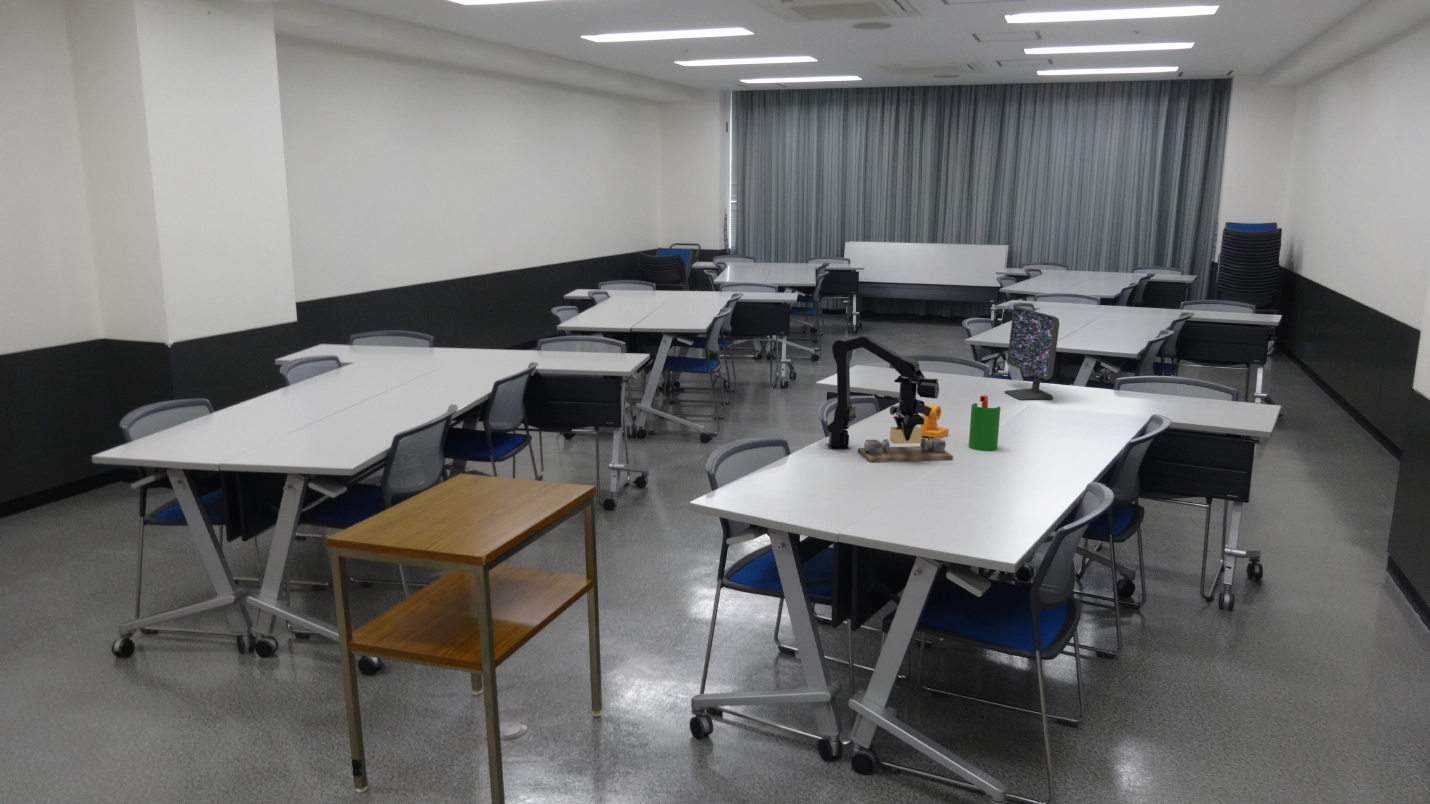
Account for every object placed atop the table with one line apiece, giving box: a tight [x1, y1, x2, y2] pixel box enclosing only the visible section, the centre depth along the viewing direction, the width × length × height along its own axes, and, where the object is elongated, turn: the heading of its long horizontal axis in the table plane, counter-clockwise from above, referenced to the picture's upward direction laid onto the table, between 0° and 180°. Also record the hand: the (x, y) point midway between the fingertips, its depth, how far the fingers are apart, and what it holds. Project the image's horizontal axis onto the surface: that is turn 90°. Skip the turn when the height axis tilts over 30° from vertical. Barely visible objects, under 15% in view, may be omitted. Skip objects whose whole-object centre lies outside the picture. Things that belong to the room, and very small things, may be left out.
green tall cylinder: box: [968, 394, 1001, 451], centre depth 347 cm, size 10×9×20 cm
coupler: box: [889, 425, 922, 444], centre depth 334 cm, size 10×4×5 cm, turn 99°
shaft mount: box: [857, 437, 954, 463], centre depth 335 cm, size 30×14×6 cm, turn 99°
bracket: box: [919, 404, 950, 439], centre depth 364 cm, size 11×7×12 cm, turn 142°
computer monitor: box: [1003, 305, 1060, 401], centre depth 440 cm, size 44×16×40 cm, turn 6°
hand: (905, 438), depth 334 cm, fingers closed on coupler, 4 cm apart
